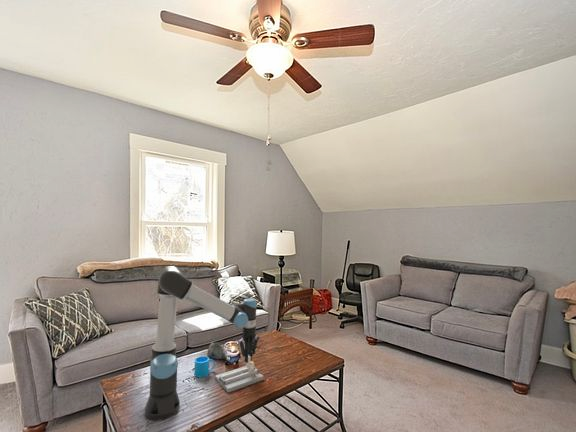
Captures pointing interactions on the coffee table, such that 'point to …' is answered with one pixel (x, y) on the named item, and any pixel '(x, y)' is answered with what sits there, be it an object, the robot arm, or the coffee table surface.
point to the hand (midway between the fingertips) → (248, 367)
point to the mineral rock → (215, 351)
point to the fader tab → (251, 366)
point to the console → (238, 378)
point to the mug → (202, 366)
